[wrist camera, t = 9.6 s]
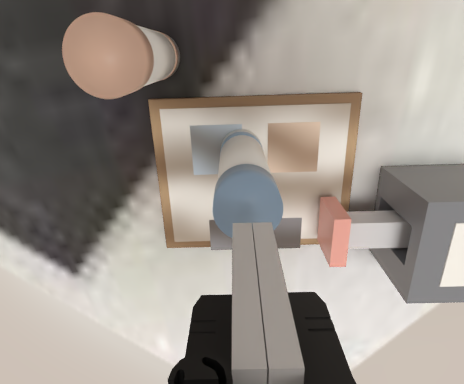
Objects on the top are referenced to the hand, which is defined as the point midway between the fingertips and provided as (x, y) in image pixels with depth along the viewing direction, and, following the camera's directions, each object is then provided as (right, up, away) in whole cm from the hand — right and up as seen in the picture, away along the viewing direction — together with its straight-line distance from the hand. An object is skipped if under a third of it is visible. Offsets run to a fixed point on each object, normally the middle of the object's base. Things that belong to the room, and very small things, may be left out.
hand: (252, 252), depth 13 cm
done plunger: (+10, 0, +14) cm, 17 cm away
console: (+15, +1, +15) cm, 22 cm away
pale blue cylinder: (0, +6, +12) cm, 14 cm away
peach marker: (-6, +12, +11) cm, 18 cm away
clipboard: (+1, +4, +14) cm, 15 cm away
